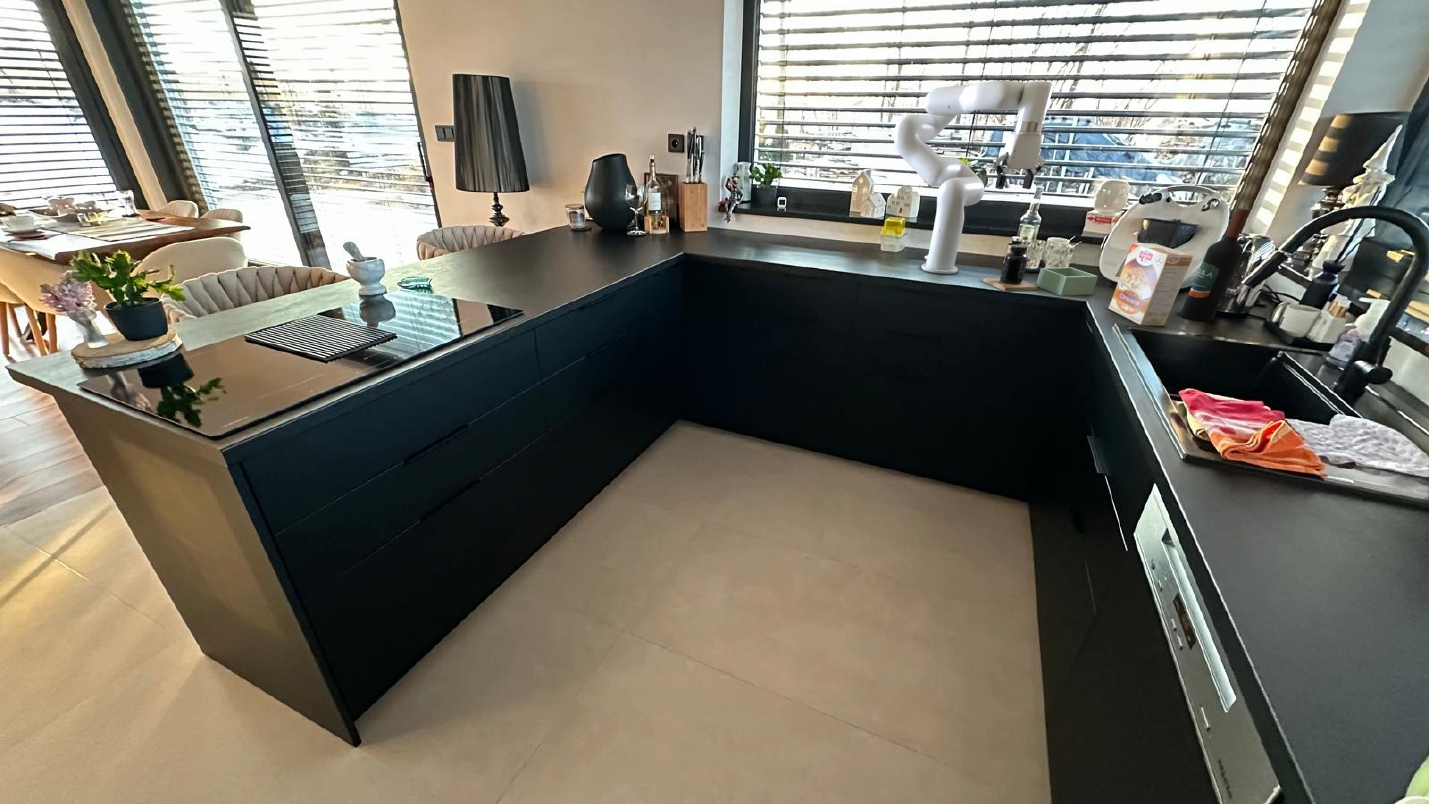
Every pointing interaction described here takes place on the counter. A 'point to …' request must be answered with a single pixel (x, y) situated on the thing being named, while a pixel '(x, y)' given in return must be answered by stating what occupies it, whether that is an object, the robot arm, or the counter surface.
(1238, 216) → the wine bottle
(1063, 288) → the box
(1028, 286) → the cork board
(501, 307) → the counter surface
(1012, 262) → the supplement bottle
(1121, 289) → the coffeecake box
